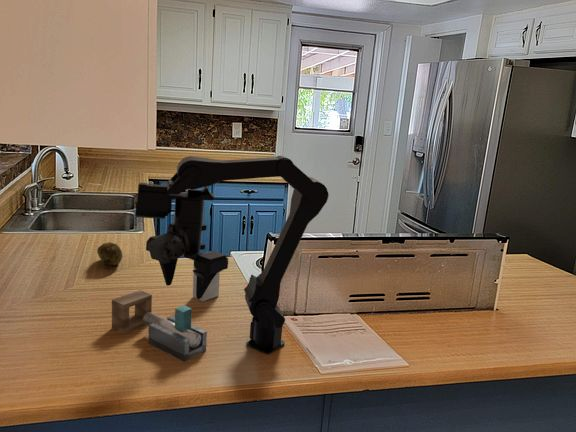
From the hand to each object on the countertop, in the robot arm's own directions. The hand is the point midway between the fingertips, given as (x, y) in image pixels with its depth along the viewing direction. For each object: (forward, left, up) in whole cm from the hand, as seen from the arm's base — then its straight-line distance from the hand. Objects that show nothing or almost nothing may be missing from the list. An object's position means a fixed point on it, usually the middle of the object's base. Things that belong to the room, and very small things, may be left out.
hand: (183, 291), depth 102 cm
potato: (+53, -21, -13) cm, 58 cm away
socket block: (+16, 0, -13) cm, 21 cm away
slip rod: (+3, 0, -11) cm, 12 cm away
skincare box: (+16, -24, -13) cm, 32 cm away
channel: (+1, 0, -13) cm, 13 cm away
